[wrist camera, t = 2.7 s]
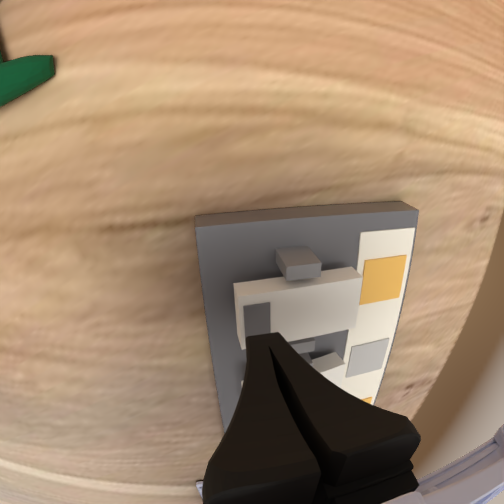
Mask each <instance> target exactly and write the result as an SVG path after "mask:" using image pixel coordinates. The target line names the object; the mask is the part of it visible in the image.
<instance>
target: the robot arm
mask: <svg viewBox="0 0 504 504" xmlns="http://www.w3.org/2000/svg"><path fill="white" fill-rule="evenodd" d="M245 344H246V359H247V362H246V370H245V376H244V381H243V385H242V390H241V393H240V397H239V400H238V403H237V406H236V409H235V412H234V414H233V417H232V419H231V422H230V424H229V426H228V428H227V430H226V432H225V434H224V436H223V438H222V440H221V442H220V444H219V446H218V447H217V449H216V450H215V452H214V454H213V455H212V457H211V458H210V460H209V462H208V466H207V469H206V472H205V476H204V480H203V481H199V482H197V483H196V487H197V489H198V491H199V493H200V495H201V497H202V500H203V504H486V503H487V502H488V501H490V500H491V499H493V498H494V497H495V496H497V495H498V494H499V493H500V492H502V491H503V490H504V424H503V425H502V426H501V427H500V428H499V429H498V431H497V432H496V433H495V435H494V437H493V438H491V439H490V440H488V441H487V442H485V443H484V444H482V445H480V446H479V447H477V448H476V449H474V450H472V451H471V452H469V453H468V454H466V455H464V456H462V457H460V458H459V459H457V460H455V461H453V462H451V463H450V464H448V465H446V466H444V467H442V468H440V469H438V470H436V471H434V472H432V473H430V474H428V475H426V476H424V477H422V478H420V479H418V480H417V479H416V478H415V476H414V474H413V472H412V471H411V470H412V469H413V464H412V462H411V461H410V458H411V457H412V455H413V454H414V452H415V451H416V449H417V447H418V445H419V443H420V440H421V438H420V435H419V433H418V432H417V430H416V428H415V427H414V425H413V424H412V423H411V422H410V420H409V419H408V418H407V417H406V416H403V415H400V414H396V413H393V412H390V411H387V410H384V409H381V408H379V407H376V406H374V405H371V404H369V403H367V402H365V401H363V400H361V399H359V398H357V397H355V396H353V395H351V394H349V393H348V392H346V391H344V390H343V389H341V388H340V387H338V386H337V385H335V384H334V383H332V382H331V381H329V380H328V379H327V378H325V377H324V376H323V375H322V374H320V373H319V372H318V371H317V370H316V369H314V368H313V367H312V366H311V365H310V364H309V363H308V362H307V361H306V360H305V359H304V358H302V357H301V356H300V355H299V354H298V353H297V352H296V351H295V349H294V348H293V347H292V346H291V345H290V344H289V343H288V342H287V341H286V340H285V338H284V337H283V336H282V335H281V334H280V333H279V332H274V333H267V334H260V335H253V336H248V337H246V338H245Z"/></svg>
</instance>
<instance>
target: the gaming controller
mask: <svg viewBox="0 0 504 504" xmlns="http://www.w3.org/2000/svg"><path fill="white" fill-rule="evenodd" d="M54 74H55V73H54V64H53V56H52V55H33V56H26V57H21V58H17V59H14V60H10V61H7V62H3V58H2V55H1V51H0V107H1V106H3V105H5V104H7V103H8V102H10V101H12V100H14V99H15V98H17V97H19V96H21V95H23V94H25V93H26V92H28V91H30V90H31V89H33V88H35V87H36V86H38V85H40V84H41V83H43V82H45V81H47V80H48V79H49V78H51V77H52V76H53V75H54Z"/></svg>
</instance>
